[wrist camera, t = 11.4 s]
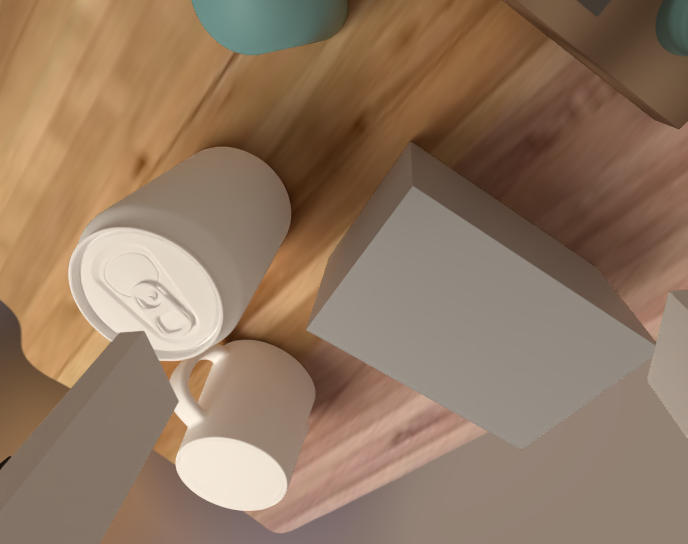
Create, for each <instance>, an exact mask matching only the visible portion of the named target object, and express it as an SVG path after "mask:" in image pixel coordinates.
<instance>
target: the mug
mask: <svg viewBox="0 0 688 544" xmlns="http://www.w3.org/2000/svg"><path fill="white" fill-rule="evenodd" d="M202 359H207V360H210V361H212V362H213V365H212V368H211V370H210V373H209V375H208V378H207V380H206V383H205V385H204V388H203V390H202V393H201V396H200V398H199V401H198V403H197V402H196V400H195V399H194V398H193V396H192V395H191V393H190V390H189V377H190V374H191V371H192V369H193V367H194V366H195V365H196V363H197V362H198V361H199V360H202ZM169 382H170V384H171V386H172V388H173V390H174V392H175V394H176V396H177V398H178V400H179V402H178V404H177V406H176V408H175V410H174V411H175V413H176V414H177V415H178V416H179V418H180V419H181V420H182V421H183V422H184V423H185V424H186V425H187V426H188V428H187V431H186V434H185V436H184V439H183V441H182V444H181V446H180V449H179V451H178V454H177V456H176V468H177V472H178V474H179V476H180V478H181V479H182V481H183V482H184V483H185V484H186V485H187V487H189V488H190V489H191V490H192V491H193V492H194V493H196V494H197V495H199V496H200V497H202V498H204V499H205V500H207V501H209V502H212V503H214V504H216V505H219V506H222V507H225V508H229V509H234V510H243V511H254V510H262V509H266V508H269V507H271V506H273V505H275V504H277V503H278V502H279V501H281V500H282V498H283V497H284V496H285V494H286V492H287V489H288V486H289V483H290V480H291V477H292V475H293V472H294V469H295V466H296V463H297V460H298V457H299V454H300V452H301V449H302V446H303V443H304V440H305V437H306V435H307V433H308V431H309V427H310V424H309V422H308V421H307V420H308V418H309V415H310V412H311V409H312V407H313V404H314V401H315V387H314V384H313V381H312V379H311V377H310V375H309V374H308V372H307V371H306V369H305V368H304V367H303V366H302V365H301V364H300V363H299V362H298V361H297V360H296V359H295V358H294V357H292V356H291V355H290V354H288V353H287V352H285V351H283V350H282V349H280V348H278V347H276V346H274V345H271V344H268V343H265V342H262V341H257V340H237V341H232V342H229V343H227V344H226V345H224V346H222V345H218V344H215V345H213V346H211V347H209V348H208V349H207V350H206V351H204V352H203V353H201V354H199V355H197V356H195V357H192V358H189V359H184V360H183V361H182V362H181V363H180V364H179V365H178V366H177V367H176V369H175V370H174V372H173V374H172V376H171V378H170V381H169Z"/></svg>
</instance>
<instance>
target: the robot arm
mask: <svg viewBox="0 0 688 544" xmlns="http://www.w3.org/2000/svg"><path fill="white" fill-rule="evenodd" d="M647 381H648V383H649V384H650V386H651V387H652V389H653V390H654V391H655V393H656V394H657V396H658V397H659V398H660V400H661V402H662V403H663V404H664V406H665V407H666V408H667V410H668V411H669V413H670V414H671V416H672V417H673V418H674V420H675V421H676V423H677V425H678V426H679V427H680V429H681V430H682V431H683V433H684V435H685V436H686V437H687V439H688V290H678V291H669V293H668V297H667V301H666V305H665V309H664V313H663V317H662V321H661V325H660V330H659V334H658V338H657V342H656V346H655V350H654V354H653V358H652V362H651V366H650V370H649V375H648V378H647ZM178 402H179V400H178V398H177V396H176V394H175V392H174V390H173V388H172V386H171V384H170V382H169V380H168V378H167V376H166V374H165V372H164V370H163V368H162V366H161V364H160V362H159V360H158V358H157V356H156V354H155V351H154V349H153V347H152V345H151V343H150V341H149V339H148V337H147V335H146V333H145V331H134V332H121V333H119V334H118V335H117V336H116V337H115V338H114V340H113V341H112V342H111V343H110V344H109V345H108V346H107V348H106V349H105V350H104V351H103V352H102V353H101V355H100V356H99V357H98V358H97V359H96V360H95V361H94V363H93V364H92V365H91V366H90V367H89V368H88V369H87V371H86V372H85V373H84V374H83V375H82V376H81V378H80V379H79V380H78V381H77V382H76V383H75V384H74V386H73V387H72V388H71V389H70V390H69V391H68V393H67V394H66V395H65V396H64V397H63V398H62V399H61V401H60V402H59V403H58V404H57V405H56V406H55V407H54V409H53V410H52V411H51V412H50V413H49V415H48V416H47V417H46V418H45V419H44V420H43V421H42V422H41V424H40V425H39V426H38V427H37V428H36V429H35V431H34V432H33V433H32V434H31V435H30V436H29V437H28V439H27V440H26V441H25V442H24V443H23V444H22V445H21V447H20V448H19V449H18V450H17V451H16V452H15V454H14V455H13V456H9V457H8V458H7V459H5V460H4V461H3V462H2V463H0V544H100V542H101V540H102V539H103V537H104V535H105V533H106V531H107V530H108V528H109V526H110V524H111V522H112V521H113V519H114V517H115V515H116V513H117V512H118V510H119V508H120V506H121V504H122V503H123V501H124V499H125V497H126V496H127V494H128V492H129V490H130V488H131V487H132V485H133V483H134V481H135V479H136V478H137V476H138V474H139V472H140V470H141V469H142V467H143V465H144V463H145V462H146V460H147V458H148V456H149V454H150V453H151V451H152V449H153V447H154V445H155V444H156V442H157V440H158V438H159V436H160V435H161V433H162V431H163V429H164V427H165V426H166V424H167V422H168V420H169V419H170V417H171V415H172V413H173V411H174V410H175V408H176V406H177V404H178Z"/></svg>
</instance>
